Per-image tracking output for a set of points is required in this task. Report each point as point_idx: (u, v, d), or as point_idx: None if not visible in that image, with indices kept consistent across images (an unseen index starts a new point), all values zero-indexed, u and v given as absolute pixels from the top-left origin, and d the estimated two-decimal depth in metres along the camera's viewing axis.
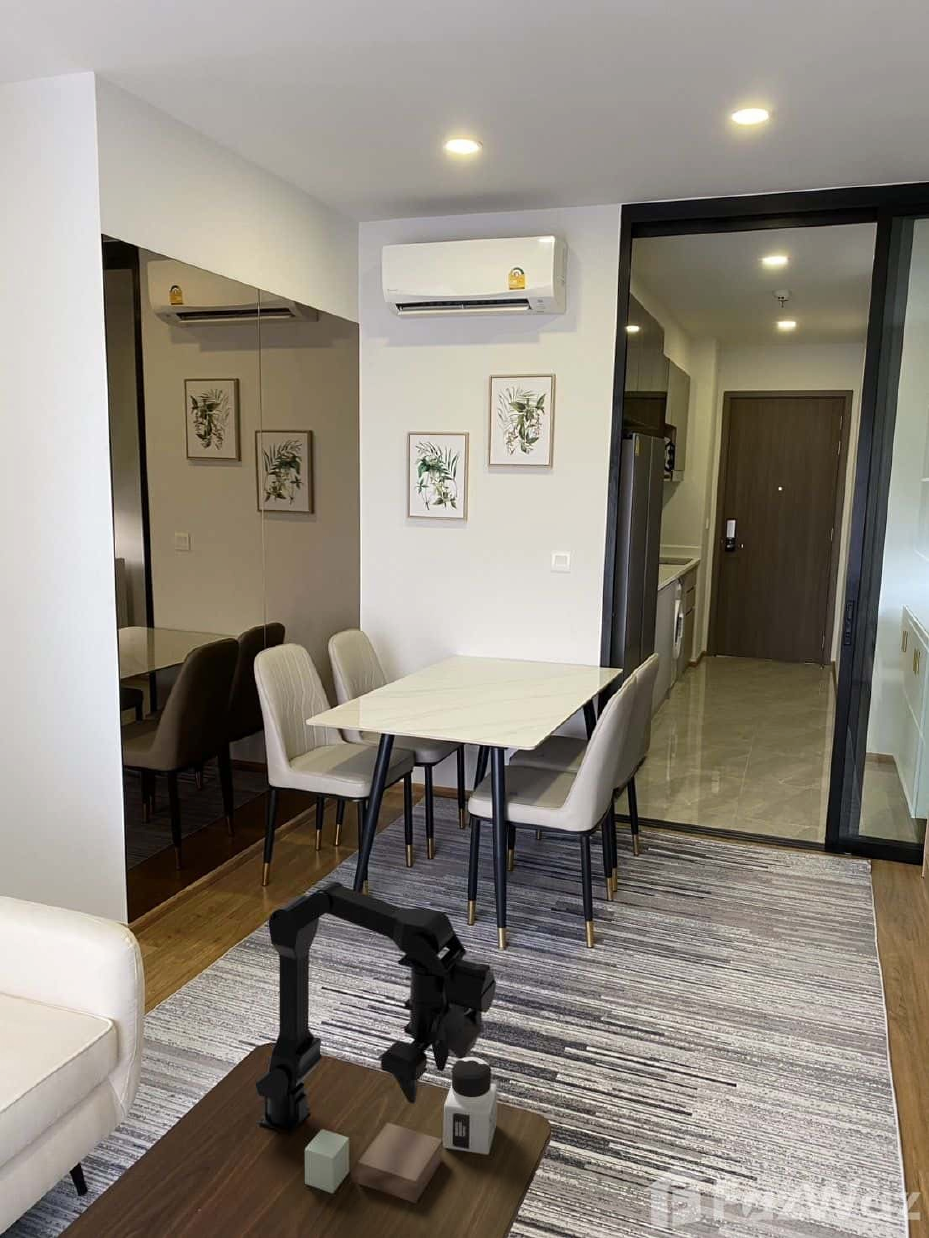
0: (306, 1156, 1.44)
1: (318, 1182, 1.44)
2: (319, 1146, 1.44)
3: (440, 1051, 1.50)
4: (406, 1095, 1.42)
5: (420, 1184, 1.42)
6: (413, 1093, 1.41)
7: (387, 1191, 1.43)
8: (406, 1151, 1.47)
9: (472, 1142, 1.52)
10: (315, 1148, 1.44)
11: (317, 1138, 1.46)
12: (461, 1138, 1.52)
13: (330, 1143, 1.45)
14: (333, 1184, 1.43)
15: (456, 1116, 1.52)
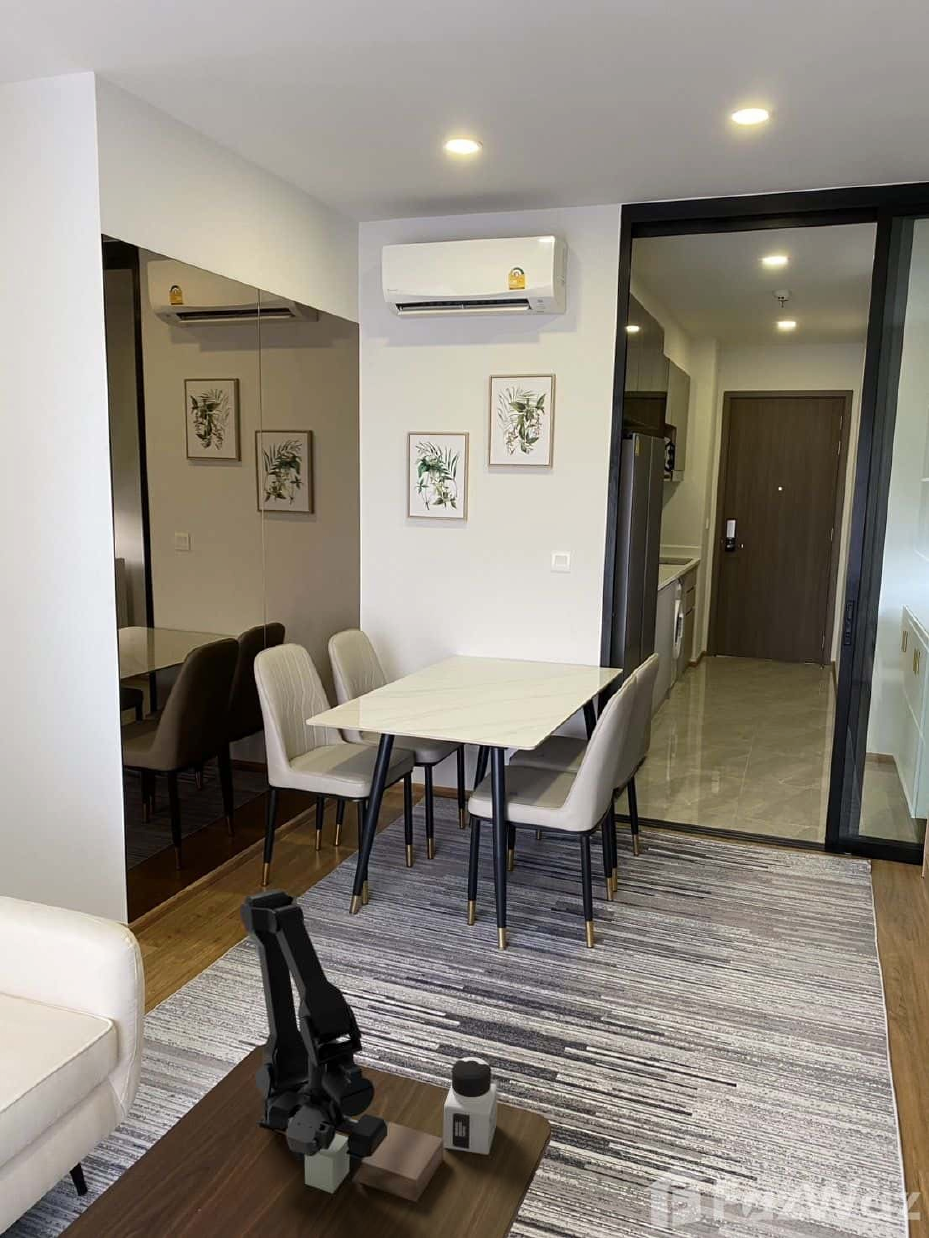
0: (306, 1156, 1.44)
1: (318, 1182, 1.44)
2: None
3: None
4: None
5: (421, 1183, 1.43)
6: (294, 1151, 1.47)
7: (388, 1190, 1.43)
8: (407, 1150, 1.47)
9: (472, 1142, 1.52)
10: None
11: None
12: (461, 1138, 1.52)
13: None
14: (333, 1184, 1.43)
15: (456, 1116, 1.52)
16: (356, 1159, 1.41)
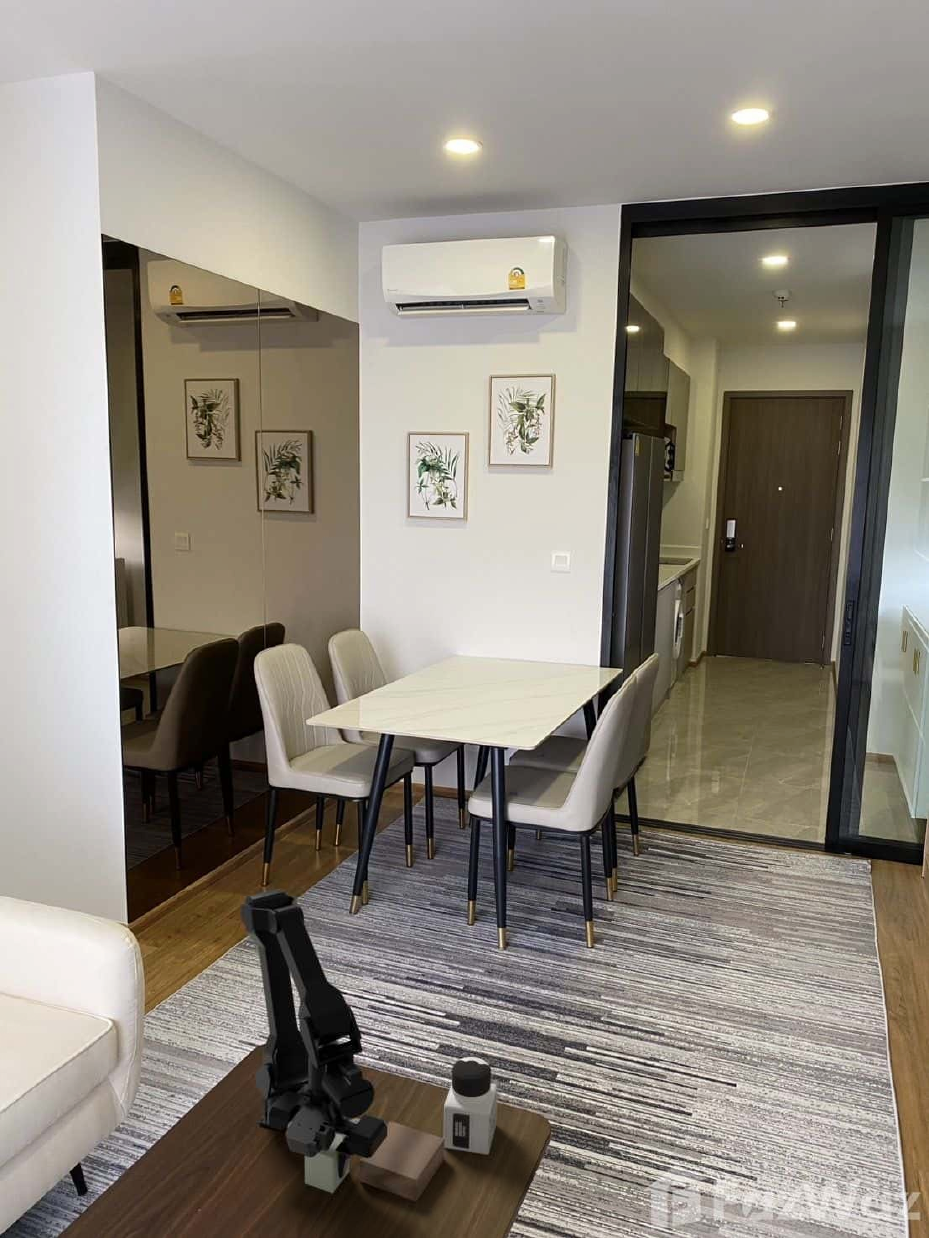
0: (306, 1156, 1.44)
1: (318, 1182, 1.44)
2: None
3: None
4: None
5: (421, 1183, 1.43)
6: None
7: (388, 1189, 1.43)
8: (408, 1150, 1.47)
9: (472, 1142, 1.52)
10: None
11: None
12: (461, 1138, 1.52)
13: None
14: (333, 1184, 1.43)
15: (456, 1116, 1.52)
16: (345, 1156, 1.42)
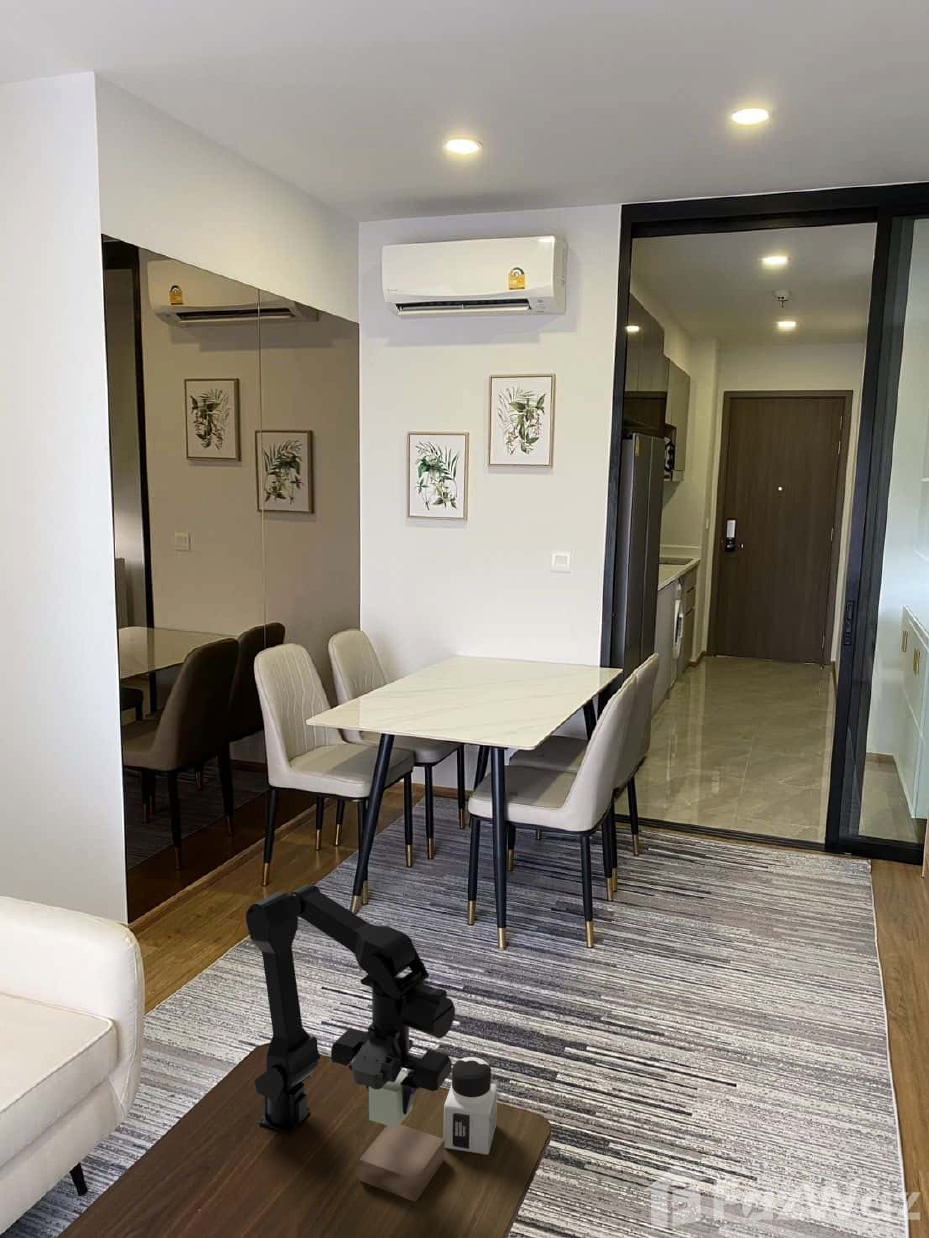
0: (370, 1091, 1.44)
1: (382, 1117, 1.43)
2: None
3: None
4: None
5: (420, 1183, 1.43)
6: (368, 1091, 1.46)
7: (388, 1189, 1.43)
8: (408, 1150, 1.47)
9: (472, 1141, 1.52)
10: None
11: None
12: (461, 1138, 1.52)
13: None
14: (398, 1119, 1.42)
15: (456, 1116, 1.52)
16: (410, 1091, 1.42)
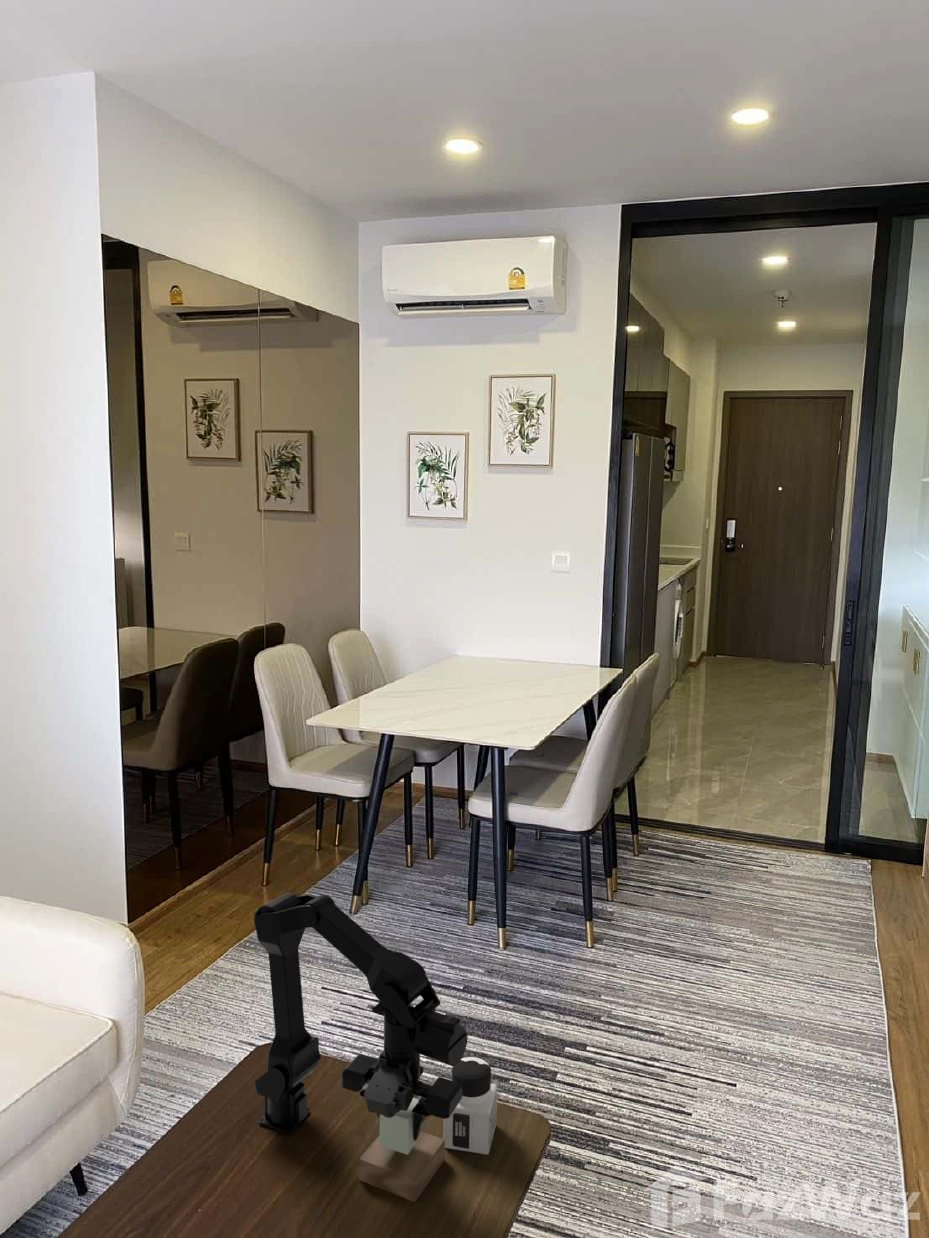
0: (381, 1118, 1.45)
1: (393, 1143, 1.44)
2: None
3: None
4: None
5: (420, 1183, 1.43)
6: (379, 1117, 1.47)
7: (387, 1189, 1.43)
8: None
9: (472, 1141, 1.52)
10: None
11: None
12: (461, 1138, 1.52)
13: None
14: (408, 1145, 1.44)
15: (456, 1116, 1.52)
16: (421, 1118, 1.43)
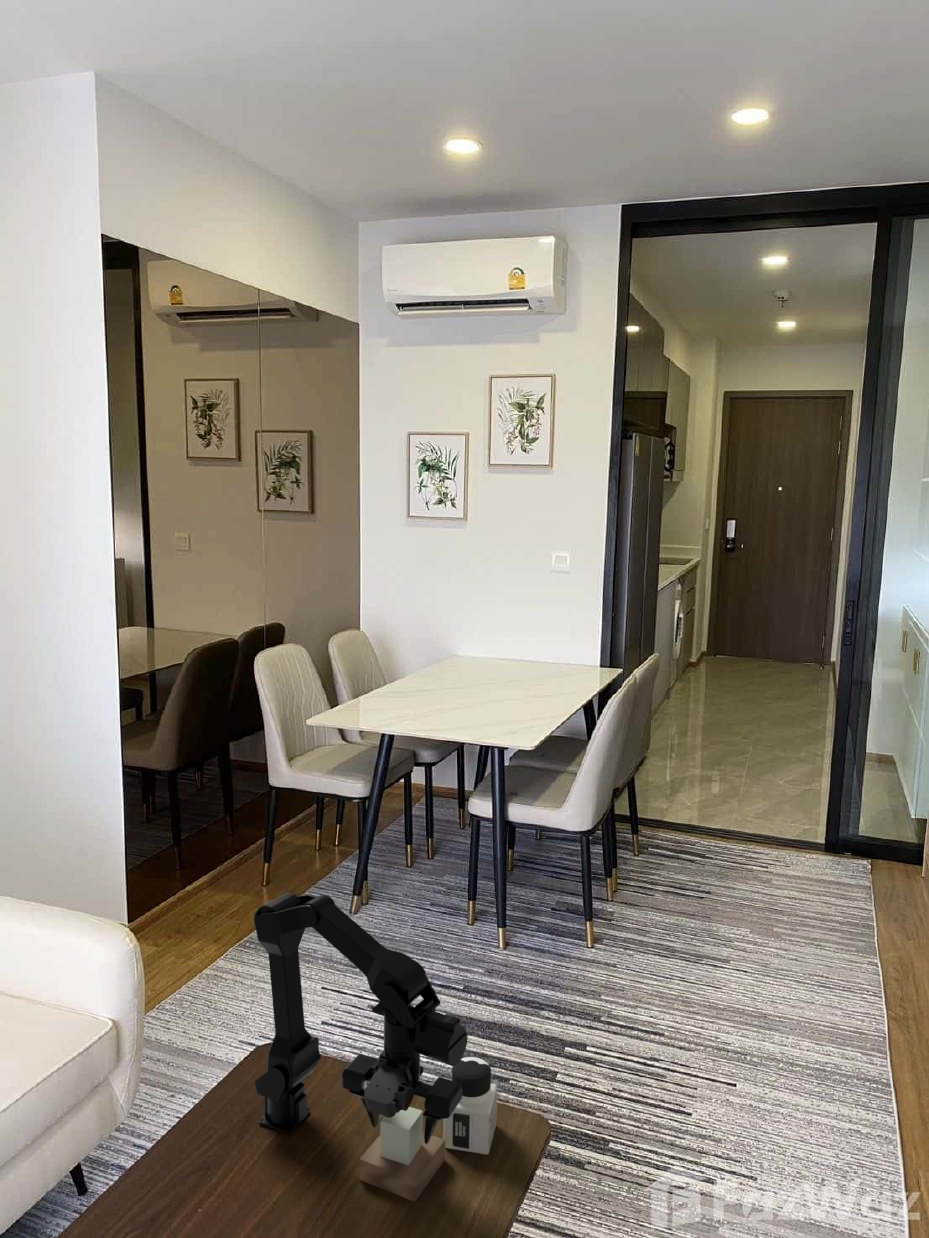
0: (382, 1128, 1.45)
1: (394, 1154, 1.45)
2: (395, 1119, 1.46)
3: None
4: None
5: (420, 1184, 1.43)
6: None
7: (387, 1189, 1.43)
8: None
9: (472, 1141, 1.52)
10: (390, 1120, 1.45)
11: None
12: (461, 1138, 1.52)
13: (405, 1116, 1.46)
14: (409, 1156, 1.44)
15: (456, 1116, 1.52)
16: (432, 1121, 1.42)
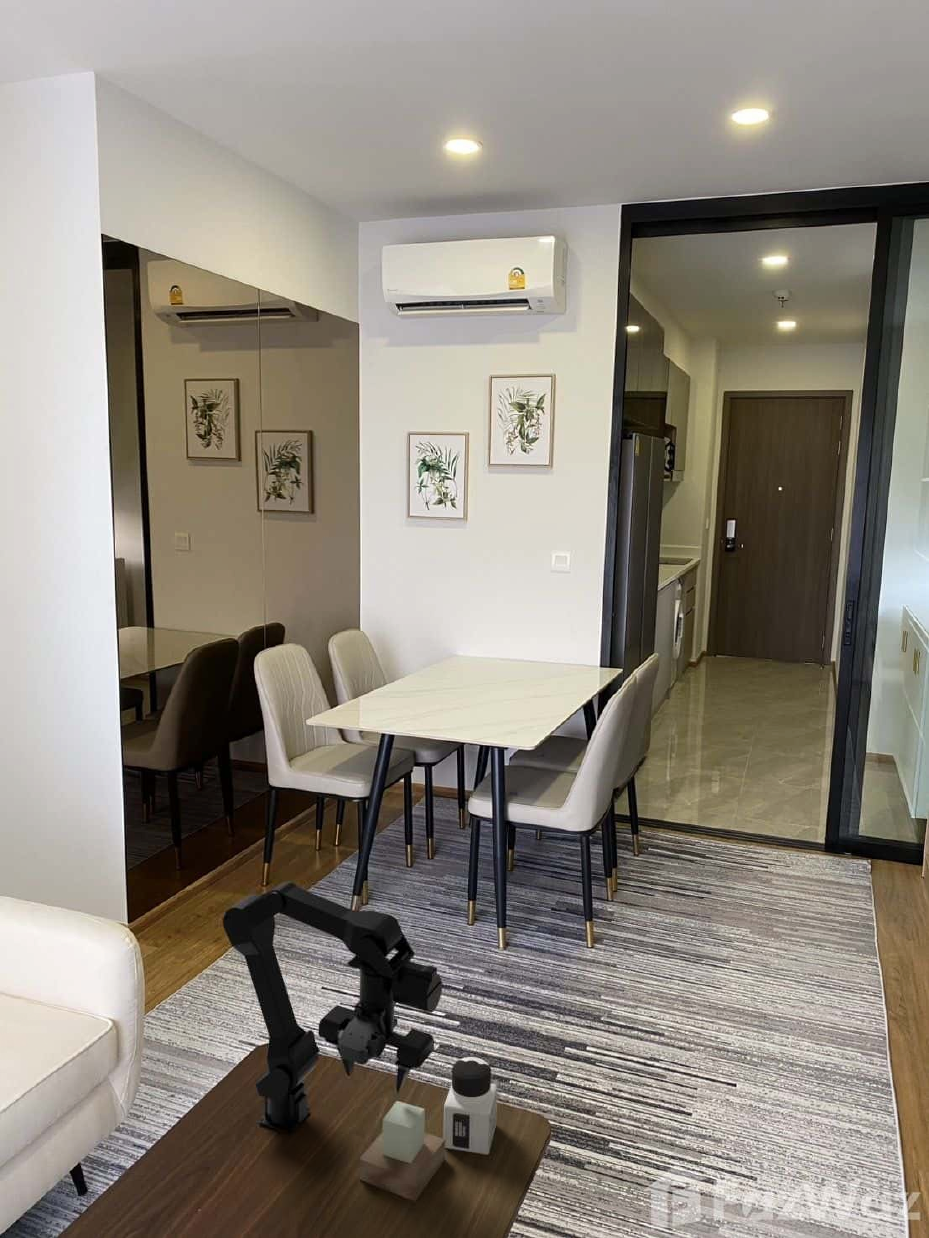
0: (384, 1127, 1.45)
1: (396, 1152, 1.45)
2: (397, 1117, 1.46)
3: None
4: None
5: (420, 1183, 1.43)
6: (343, 1063, 1.52)
7: (387, 1189, 1.43)
8: None
9: (472, 1142, 1.52)
10: (392, 1119, 1.46)
11: (393, 1109, 1.48)
12: (461, 1138, 1.52)
13: (407, 1114, 1.47)
14: (411, 1154, 1.44)
15: (456, 1116, 1.52)
16: (404, 1070, 1.47)
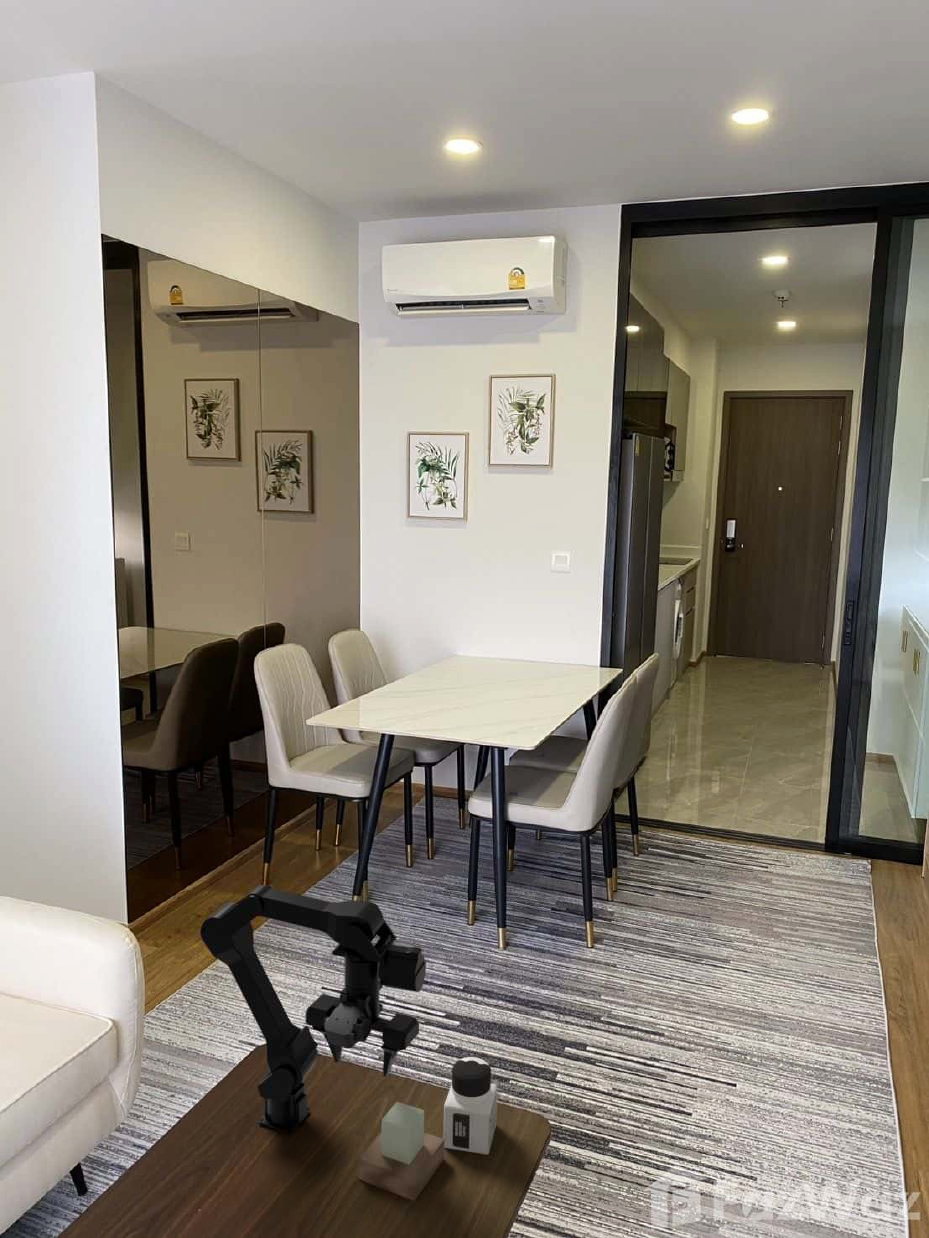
0: (383, 1127, 1.45)
1: (395, 1153, 1.45)
2: (396, 1118, 1.46)
3: None
4: None
5: (419, 1183, 1.43)
6: (331, 1050, 1.55)
7: (387, 1188, 1.44)
8: None
9: (472, 1142, 1.52)
10: (391, 1119, 1.45)
11: (393, 1110, 1.48)
12: (461, 1138, 1.52)
13: (406, 1115, 1.46)
14: (410, 1155, 1.44)
15: (456, 1116, 1.52)
16: (390, 1054, 1.50)
